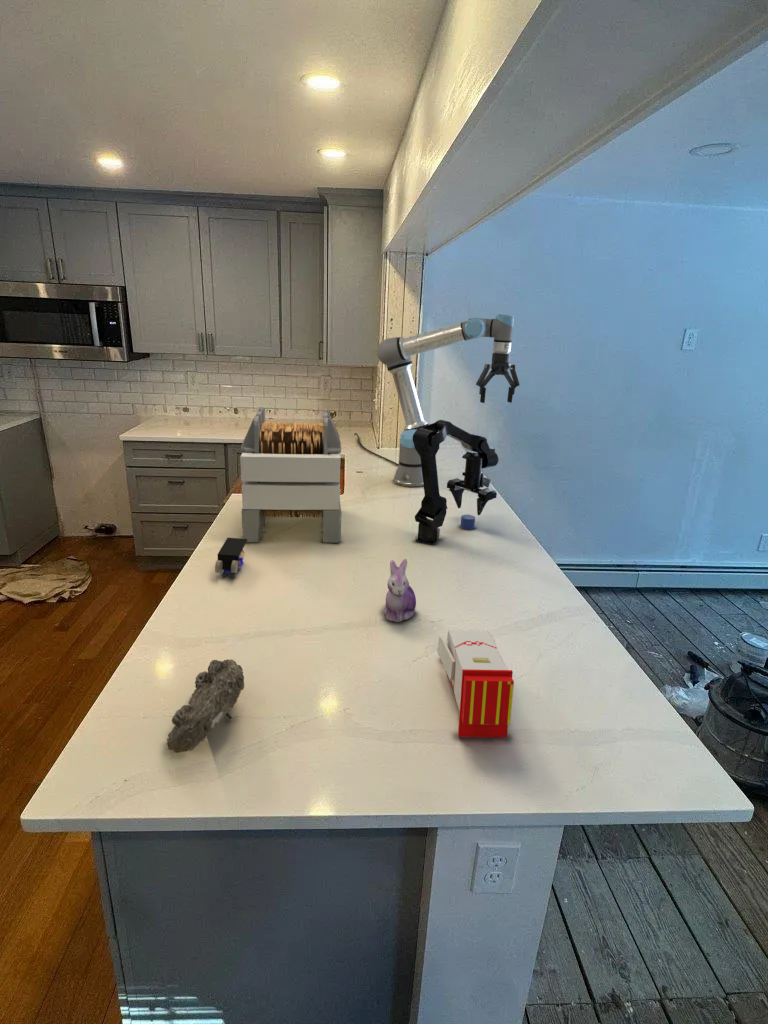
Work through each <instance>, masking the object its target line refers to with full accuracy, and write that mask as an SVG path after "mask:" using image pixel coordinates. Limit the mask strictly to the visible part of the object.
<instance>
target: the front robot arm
mask: <svg viewBox="0 0 768 1024" xmlns="http://www.w3.org/2000/svg"><path fill="white" fill-rule="evenodd" d="M447 436H448V437H449V438H452V439H454V440H456V441H457V442H459V443H460V444H461V446H462V447H463V448H464V449H466V450H467V451H466V452H465V453H464V454H463V455H462V456H461V458H462V459H465V468H464V472H463V471H462V474H461V475H462V476H463V477H464V478H463V479H460V478H458V477H457V478H453V479H449V480H448V481H447V482H446V488H447V489H448V491H450V493H451V495H452V497H453V499H454V502H455V505H456V506H457V509H461V507H462V502H463V493H464V491H468V492H471V493H474V494H477V498H476V513H477V516H481V514H482V512H483V510H484V508H485V506H486V505H487V503H488V502H490V501H492V500H493V499H497V496H498V493H497V490H496V489H492V488H489V487H490V484H491V481H492V479H490V478H487V477H484V472H482V470H483V469H486V468H487V469H488V468H493V467H496V466H497V465H498V464H499V460H500V459H499V456H498V453H497V452H496V448H494V447H490V445H489V443H488V439H487V438H486V436H482V435H478V434H474V433H471V432H468V431H466V430H465V429H463V428H461V427H459V426H457V425H456V424H453V423H452V422H451V421H448V420H445V419H438V420H436V421H435V422H432V423H428V425H426V426H423V427H422V428H419V429H417V430H416V431H415V433H414V434H413V443H414V447H415V449H416V451H417V452H418V454H419V456H420V458H421V467H422V476H423V484H424V486H423V491H424V495H423V498H422V500H421V502H420V503H421V504H420V508H419V509H418V511H417V512H416V514H415V515H414V520H415V522H416V523H418V527H417V538H416V539H415V542H417V543H421V544H425V545H430V546H435V544H436V543H437V542H438V541H439V540H440V532H441V528H440V527H443V525H444V522H445V518H446V516H447V510H448V508H449V507H448V506H447V503H448V502H447V500H448V499H447V498H446V497H444V496H442V495H441V494H440V487H439V486H440V485H439V477H438V475H439V474H438V467H437V457H436V456H437V454H438V451H439V450H440V444H442V443H443V442H444V441H445V440H446V439H447ZM484 487H485V488H484Z"/></svg>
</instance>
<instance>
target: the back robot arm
mask: <svg viewBox="0 0 768 1024" xmlns="http://www.w3.org/2000/svg"><path fill="white" fill-rule="evenodd" d="M514 323H515V317H514V315H512V314H497V315H496V316H495V318H480V317H470V318H467V320H465V321H462V322H458V323H453V324H450V325H447V326H443V327H440V328H436V329H433V330H429V331H426V332H423V333H419V334H415V335H411V336H408V337H404V336H398V337H397V336H396V337H395V336H394V337H390V338H385V339H383V340H381V342H379V344H378V346H377V349H376V355H377V359H378V360H379V361H380V363H382V364H383V365H384V366H386V368H387V372H388V373H389V374H391V375H392V379H393V383H394V386H395V388H396V389H395V390H396V393H397V396H398V400H399V401H398V402H399V404H400V407H401V412H402V416H403V418H404V423H405V426H404V428H403V431H402V432H400V436H399V450H398V451H399V454H398V463H397V462H395V461H393V460H391V459H389V458H387V457H384V456H382V455H380V454H378V453H375V452H374V451H371V450H369V449H368V448H366V447H365V446H364V445H363V444H361V443H362V442H361V441H360V435H359V434H358V433H357V432H355V433H354V434H353V435H354V436H356V437H357V441H358V444H359V446H360V447H361V448H363V449H364V450H365V451H367V452H369V453H370V454H373V455H375V456H377V457H379V458H381V459H383V460H386V461H388V462H390V463H392V464H394V465H396V466H397V469H396V470H395V474H394V477H393V483H394V484H396V485H398V486H401V487H408V488H420V487H424V484H423V476H422V467H421V458H420V456H419V454H418V452H417V451H416V449H415V447H414V443H413V434H414V433H415V431H416V430H417V429H419V428H422V427H423V426H426V425H429V422H428V421H427V420H425V419H424V414H423V411H422V408H421V404H420V400H419V397H418V392H417V388H416V385H415V382H414V381H415V380H414V378H413V377H414V376H413V374H412V370H411V368H412V366H413V360H412V356H415V355H418V354H422V353H426V352H430V351H434V350H436V349H440V348H444V347H447V346H451V345H454V344H455V345H456V344H458V343H462V342H463V343H464V342H465V341H466V342H467V341H470V340H474V339H478V338H493V344H492V355H491V364H490V363H485V364H484V366H483V370H482V372H481V373H480V376H479V377H478V379H477V381H476V383H475V385H476V386H478V387H479V391H478V392H479V393H478V394H479V395H480V399H479V403H482V404H485V402H486V401H485V400H486V394H487V393H486V392H487V387H486V386H487V385H488V383H489V382H490V381H491V380H492V378H494V377H495V376H504V378H505V379H506V381H507V383H508V384H509V387H508V389H507V390H508V391H507V399H506V400H507V403H510V404H512V403H513V398H514V397H513V396H514V395H515V391H516V388H517V387H520V381H519V378H518V375H517V371H516V364H514V363H510V360H511V354H510V353H511V351H512V350H511V349H512V340H513V333H514V326H515V325H514ZM508 370H509V371H508ZM509 372H510V373H509ZM510 374H511V375H510Z"/></svg>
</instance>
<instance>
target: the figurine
mask: <svg viewBox="0 0 768 1024" xmlns="http://www.w3.org/2000/svg"><path fill="white" fill-rule="evenodd" d="M407 567H408V559H406V558H404V559H403V560H402V561H401V563H400V565H399V566H398V565H397V563H396V562H395V561H394V560H393V559H391V560H390V561H389V570H390V576H389V578H388V579H387V589H388V591H387V592H386V594H385V595H386V596H385V607H384V615H385V616H386V620H387V621H391V622H395V623H400V622H402V621H406V620H409V619H410V618H411V617H413V616H414V615H415V610H416V606H417V597H416V593H415V591H414V590H413V587H411V586H410V582H409V579H408V577H407V574H406V571H407Z"/></svg>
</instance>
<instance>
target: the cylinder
mask: <svg viewBox="0 0 768 1024" xmlns="http://www.w3.org/2000/svg"><path fill="white" fill-rule="evenodd" d="M475 525H476V516H474V515H473V514H462V515H461V516H460V525H459V528H460V529H462V530H465V531H472V530H474V529H475Z"/></svg>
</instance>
